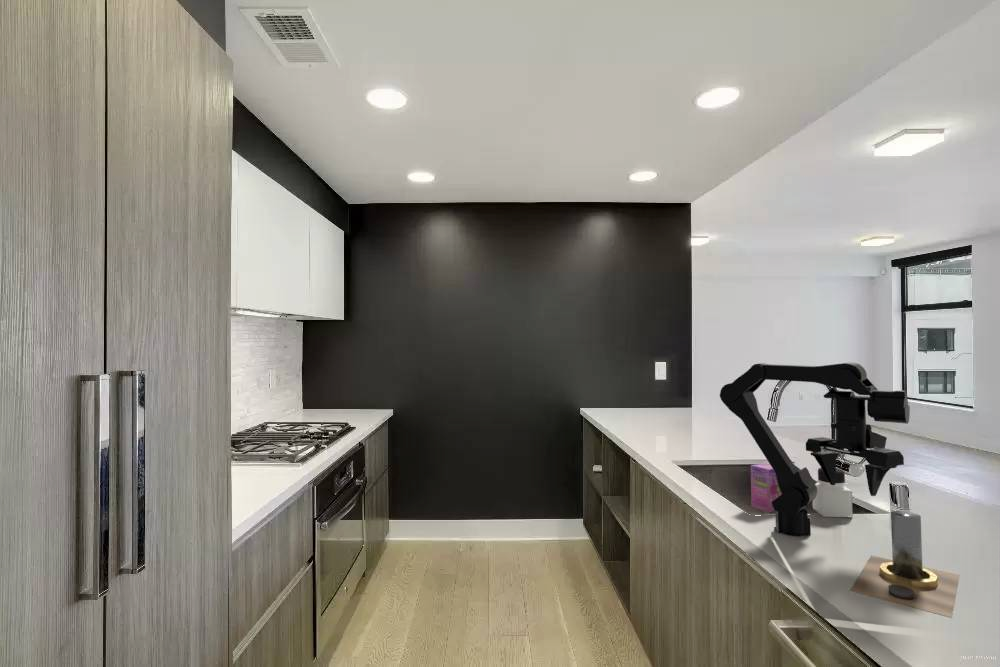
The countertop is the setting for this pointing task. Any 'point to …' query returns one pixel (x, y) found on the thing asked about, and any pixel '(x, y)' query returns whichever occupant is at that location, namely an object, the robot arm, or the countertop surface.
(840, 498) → the medicine bottle
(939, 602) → the board
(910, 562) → the steel peg
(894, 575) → the brass ring
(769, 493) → the box
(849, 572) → the countertop surface
